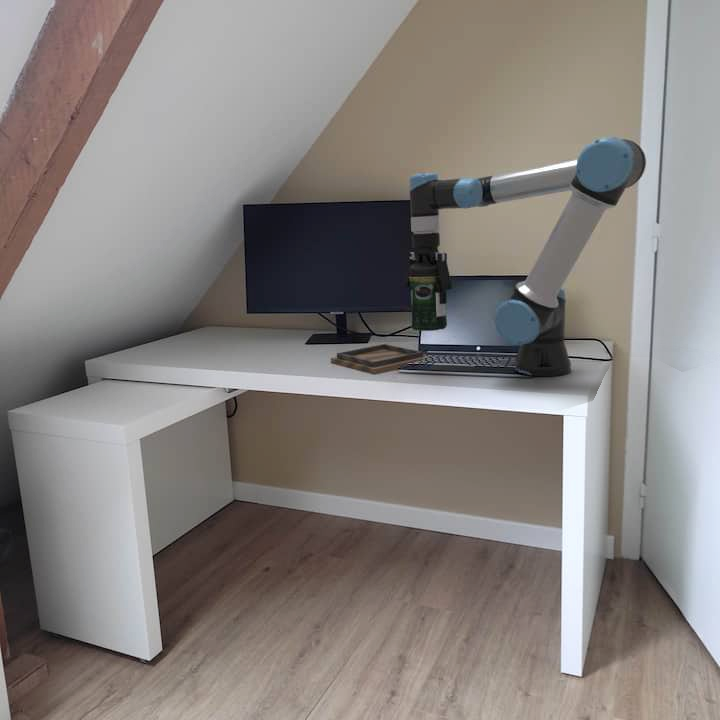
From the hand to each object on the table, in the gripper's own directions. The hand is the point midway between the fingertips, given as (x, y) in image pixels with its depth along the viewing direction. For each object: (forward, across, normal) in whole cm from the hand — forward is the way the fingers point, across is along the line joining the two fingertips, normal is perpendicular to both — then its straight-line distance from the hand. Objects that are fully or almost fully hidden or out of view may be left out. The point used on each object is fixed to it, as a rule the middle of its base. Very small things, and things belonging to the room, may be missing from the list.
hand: (428, 314), depth 203 cm
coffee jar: (+4, 0, 0) cm, 4 cm away
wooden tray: (+16, +21, +2) cm, 26 cm away
